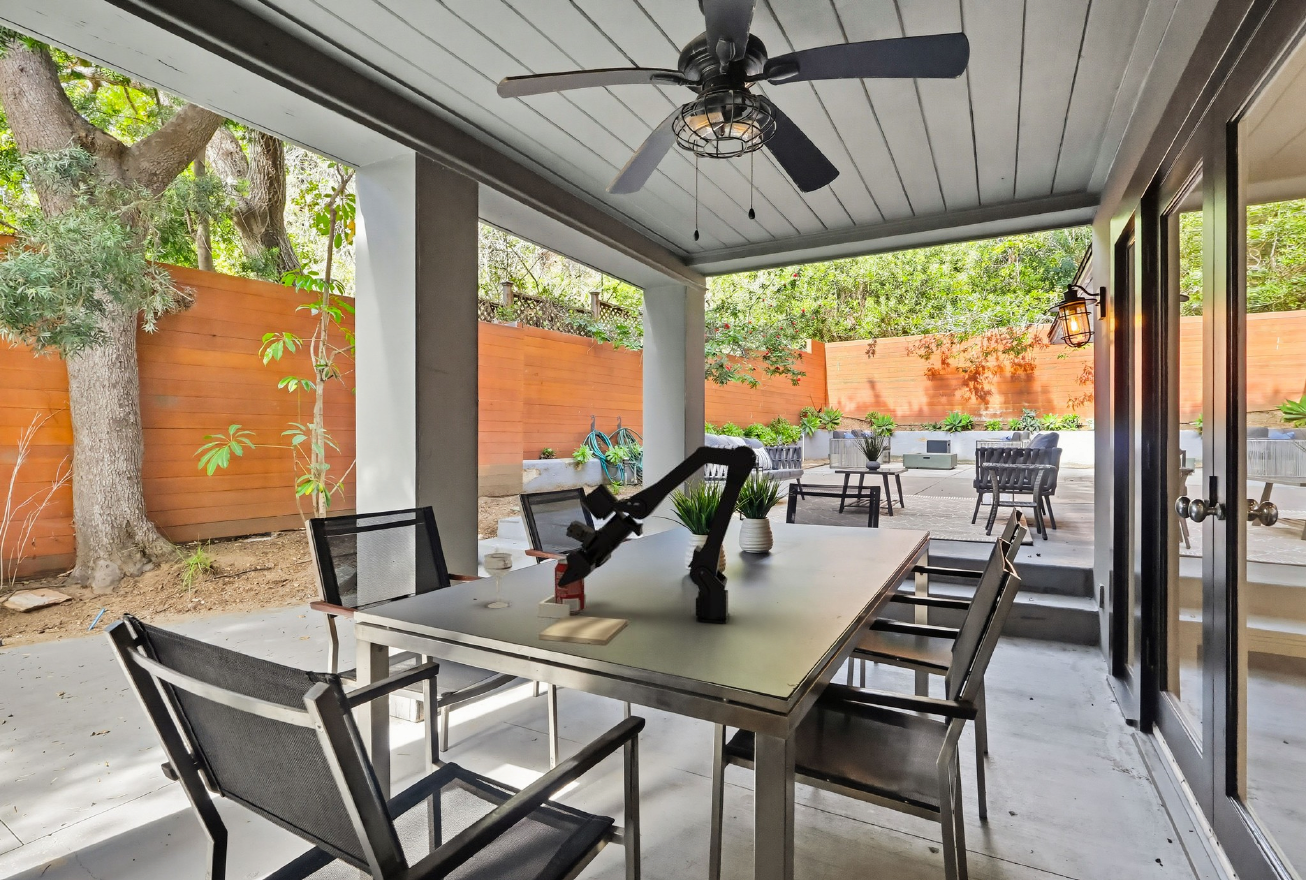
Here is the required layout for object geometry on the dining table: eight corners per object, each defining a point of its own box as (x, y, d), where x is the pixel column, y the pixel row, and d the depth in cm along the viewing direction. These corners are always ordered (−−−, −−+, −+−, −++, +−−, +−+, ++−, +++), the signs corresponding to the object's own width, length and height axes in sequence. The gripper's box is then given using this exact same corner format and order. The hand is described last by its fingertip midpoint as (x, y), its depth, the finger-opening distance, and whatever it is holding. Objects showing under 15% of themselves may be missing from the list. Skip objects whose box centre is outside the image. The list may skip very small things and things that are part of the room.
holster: (586, 606, 150) (586, 594, 150) (568, 618, 140) (568, 605, 140) (557, 604, 152) (557, 592, 152) (538, 616, 142) (538, 603, 142)
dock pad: (627, 624, 136) (627, 619, 136) (605, 645, 122) (605, 639, 122) (567, 619, 139) (567, 615, 139) (539, 639, 126) (539, 634, 126)
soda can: (582, 616, 142) (582, 563, 142) (552, 616, 142) (552, 562, 142) (586, 608, 149) (585, 557, 149) (557, 608, 149) (557, 557, 149)
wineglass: (481, 603, 153) (481, 554, 153) (509, 600, 156) (509, 552, 156) (486, 610, 147) (486, 559, 147) (515, 607, 150) (515, 556, 150)
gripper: (598, 505, 154) (555, 549, 156) (575, 514, 136) (526, 563, 138) (630, 538, 153) (586, 582, 155) (610, 552, 134) (561, 601, 136)
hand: (565, 581), depth 146 cm, fingers open, 9 cm apart
